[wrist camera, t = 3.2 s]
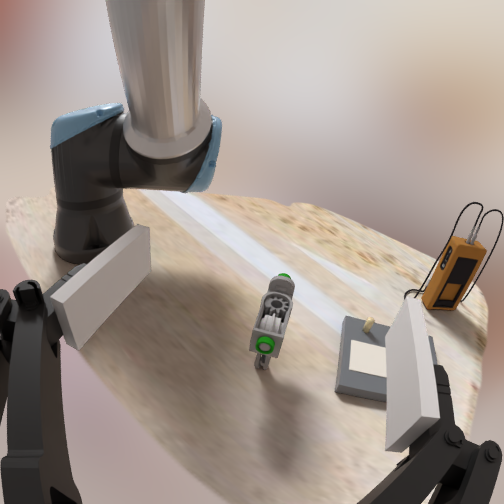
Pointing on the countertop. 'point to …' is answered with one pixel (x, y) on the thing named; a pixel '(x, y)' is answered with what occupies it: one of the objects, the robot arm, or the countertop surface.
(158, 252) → the countertop surface
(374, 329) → the board
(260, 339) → the mechanical component
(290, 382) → the countertop surface
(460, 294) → the multimeter
